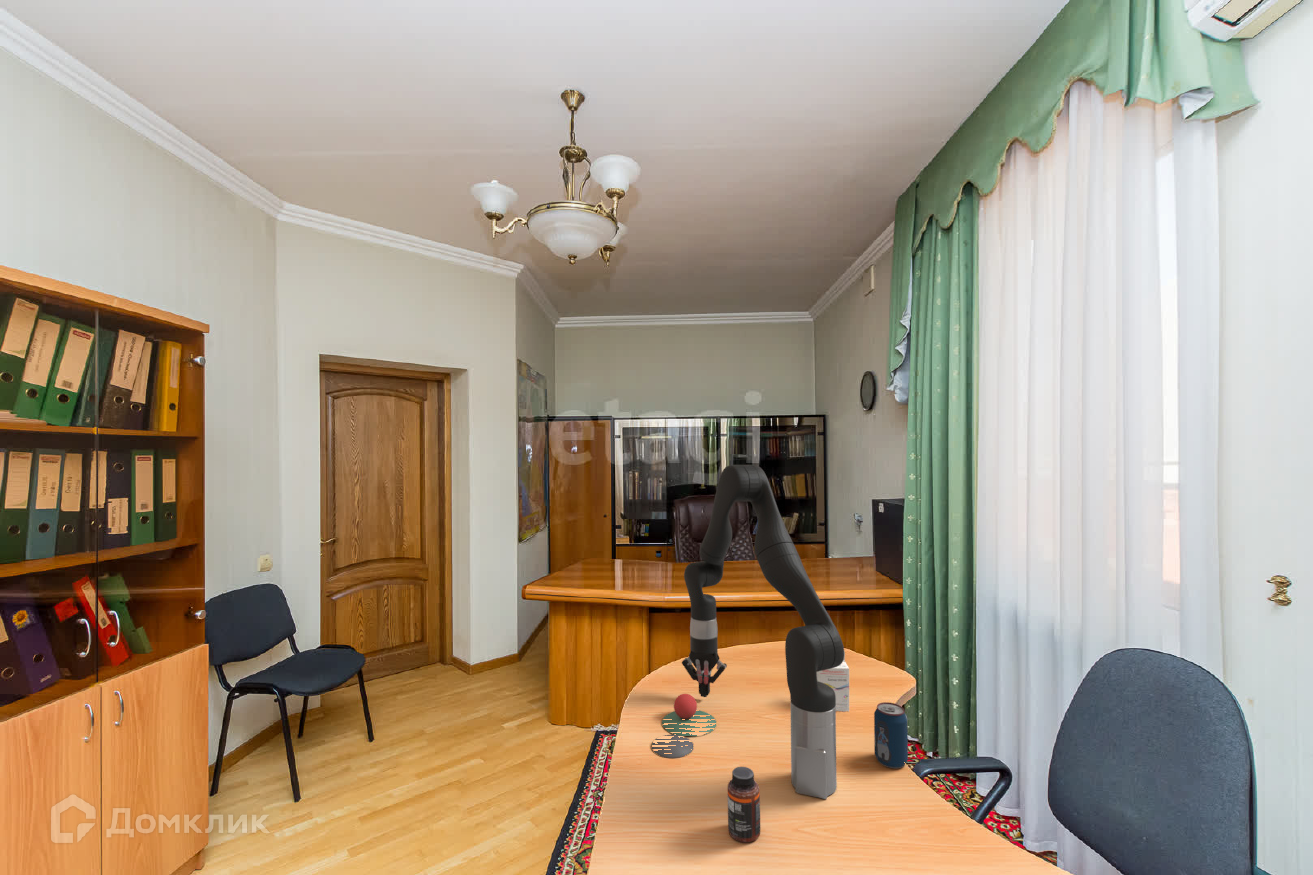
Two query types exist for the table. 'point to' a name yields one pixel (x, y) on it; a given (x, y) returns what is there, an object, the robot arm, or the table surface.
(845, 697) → the ink cartridge box
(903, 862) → the table surface
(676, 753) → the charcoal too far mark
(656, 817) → the table surface
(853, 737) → the table surface
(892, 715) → the soda can
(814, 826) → the table surface
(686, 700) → the ball
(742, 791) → the supplement bottle
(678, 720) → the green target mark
